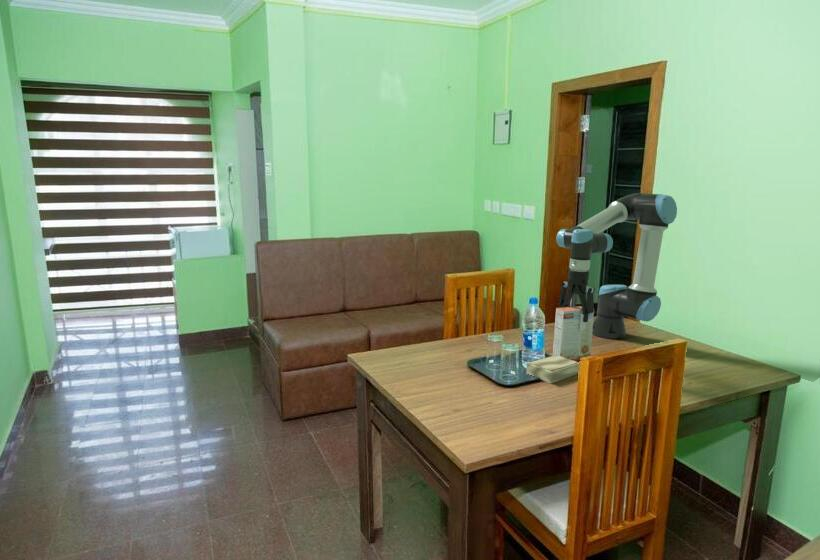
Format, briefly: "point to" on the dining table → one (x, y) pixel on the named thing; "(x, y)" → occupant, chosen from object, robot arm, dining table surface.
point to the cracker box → (572, 334)
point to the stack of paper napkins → (552, 368)
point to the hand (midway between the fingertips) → (573, 327)
